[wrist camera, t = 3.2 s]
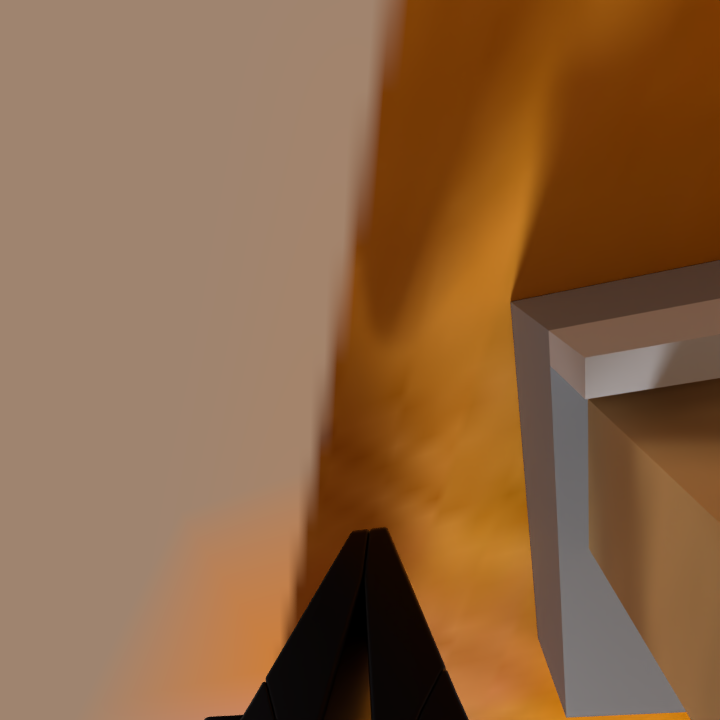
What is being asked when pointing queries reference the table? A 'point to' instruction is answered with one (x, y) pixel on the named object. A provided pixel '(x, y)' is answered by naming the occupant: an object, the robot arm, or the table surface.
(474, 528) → the table surface
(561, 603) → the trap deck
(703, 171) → the table surface
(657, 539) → the ochre block
